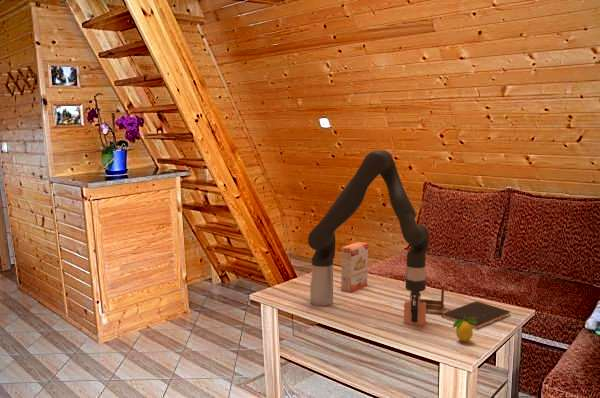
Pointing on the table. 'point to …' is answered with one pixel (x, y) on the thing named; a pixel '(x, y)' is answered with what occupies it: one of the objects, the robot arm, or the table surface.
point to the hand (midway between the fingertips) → (414, 319)
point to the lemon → (464, 328)
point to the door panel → (421, 313)
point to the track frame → (435, 304)
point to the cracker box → (354, 266)
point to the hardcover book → (476, 313)
